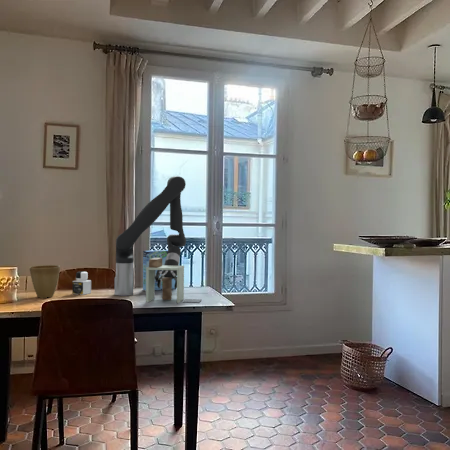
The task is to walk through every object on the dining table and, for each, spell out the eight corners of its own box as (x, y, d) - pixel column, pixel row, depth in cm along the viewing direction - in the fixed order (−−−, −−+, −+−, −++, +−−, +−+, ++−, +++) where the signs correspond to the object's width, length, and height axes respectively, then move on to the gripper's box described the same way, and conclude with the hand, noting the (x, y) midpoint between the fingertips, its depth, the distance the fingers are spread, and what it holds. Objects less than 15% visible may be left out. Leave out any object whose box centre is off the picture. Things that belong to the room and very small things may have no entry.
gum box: (172, 287, 276) (172, 249, 276) (176, 288, 272) (176, 250, 272) (142, 290, 265) (142, 250, 265) (146, 291, 261) (146, 251, 261)
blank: (162, 299, 233) (162, 278, 233) (164, 298, 237) (164, 277, 237) (170, 299, 233) (170, 278, 232) (171, 298, 237) (171, 277, 236)
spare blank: (149, 267, 226) (149, 259, 226) (154, 265, 237) (154, 257, 237) (157, 267, 225) (157, 259, 225) (162, 265, 236) (162, 257, 236)
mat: (182, 302, 225) (182, 301, 225) (185, 299, 233) (185, 298, 233) (199, 303, 224) (199, 302, 224) (201, 300, 232) (201, 299, 232)
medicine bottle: (72, 294, 249) (72, 272, 249) (80, 292, 255) (81, 270, 255) (82, 295, 246) (82, 272, 246) (91, 293, 253) (91, 271, 252)
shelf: (145, 302, 225) (145, 267, 225) (152, 297, 238) (152, 265, 238) (178, 303, 223) (179, 268, 223) (183, 298, 236) (184, 265, 236)
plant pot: (43, 294, 248) (43, 264, 247) (66, 295, 243) (66, 265, 242) (22, 298, 233) (22, 267, 233) (46, 300, 228) (46, 268, 228)
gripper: (157, 258, 244) (152, 282, 232) (184, 258, 242) (179, 283, 231) (160, 267, 249) (154, 291, 238) (186, 267, 248) (181, 292, 236)
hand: (167, 287), depth 234 cm, fingers open, 8 cm apart
